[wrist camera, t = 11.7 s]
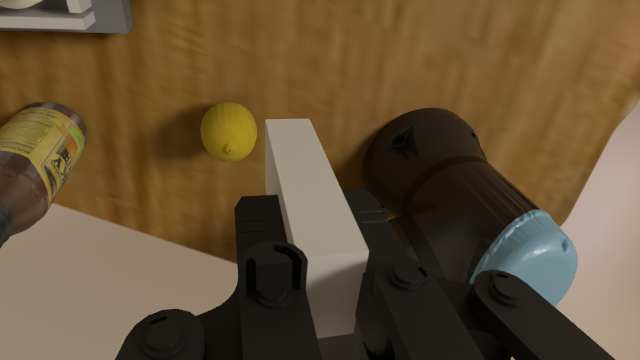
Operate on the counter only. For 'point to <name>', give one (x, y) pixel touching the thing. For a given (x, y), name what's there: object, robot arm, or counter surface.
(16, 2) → the white knob
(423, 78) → the counter surface
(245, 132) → the lemon
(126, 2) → the knob panel
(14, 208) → the sauce bottle
